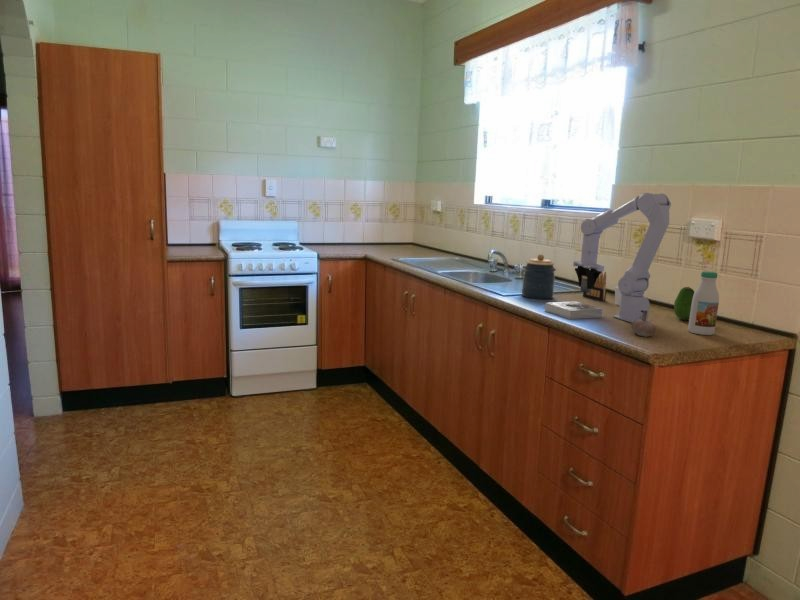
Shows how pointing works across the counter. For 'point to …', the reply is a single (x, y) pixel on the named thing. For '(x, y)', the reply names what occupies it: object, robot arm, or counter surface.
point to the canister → (538, 278)
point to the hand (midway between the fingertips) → (586, 287)
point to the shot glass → (617, 295)
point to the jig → (573, 310)
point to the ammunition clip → (598, 289)
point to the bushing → (584, 284)
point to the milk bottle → (704, 305)
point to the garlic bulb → (643, 326)
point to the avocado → (684, 303)
